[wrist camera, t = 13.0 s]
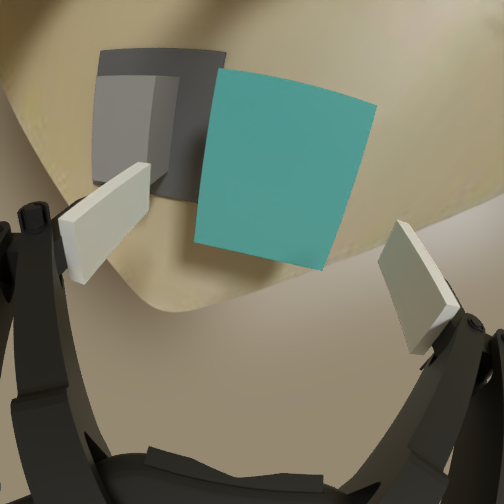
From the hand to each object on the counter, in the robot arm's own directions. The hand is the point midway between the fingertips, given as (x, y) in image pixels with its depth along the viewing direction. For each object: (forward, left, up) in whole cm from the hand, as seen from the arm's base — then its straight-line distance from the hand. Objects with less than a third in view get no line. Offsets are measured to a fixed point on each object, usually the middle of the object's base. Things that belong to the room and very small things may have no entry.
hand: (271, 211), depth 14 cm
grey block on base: (-14, +1, -15) cm, 20 cm away
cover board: (0, 0, -9) cm, 9 cm away
